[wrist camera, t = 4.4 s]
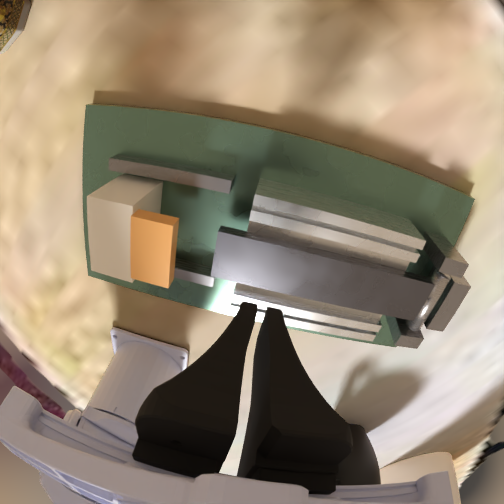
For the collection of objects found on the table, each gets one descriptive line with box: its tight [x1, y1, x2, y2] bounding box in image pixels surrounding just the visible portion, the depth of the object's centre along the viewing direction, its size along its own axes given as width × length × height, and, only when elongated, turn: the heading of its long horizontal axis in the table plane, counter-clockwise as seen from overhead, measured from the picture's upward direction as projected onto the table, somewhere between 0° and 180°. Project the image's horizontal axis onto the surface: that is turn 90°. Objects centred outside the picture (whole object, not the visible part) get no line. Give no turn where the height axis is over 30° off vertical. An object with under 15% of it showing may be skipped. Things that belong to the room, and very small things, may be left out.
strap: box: [211, 225, 451, 332], centre depth 18 cm, size 4×15×1 cm, turn 78°
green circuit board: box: [83, 104, 475, 349], centre depth 19 cm, size 14×28×4 cm, turn 78°
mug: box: [336, 424, 381, 486], centre depth 28 cm, size 8×12×10 cm
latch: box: [87, 174, 179, 288], centre depth 18 cm, size 5×5×5 cm
